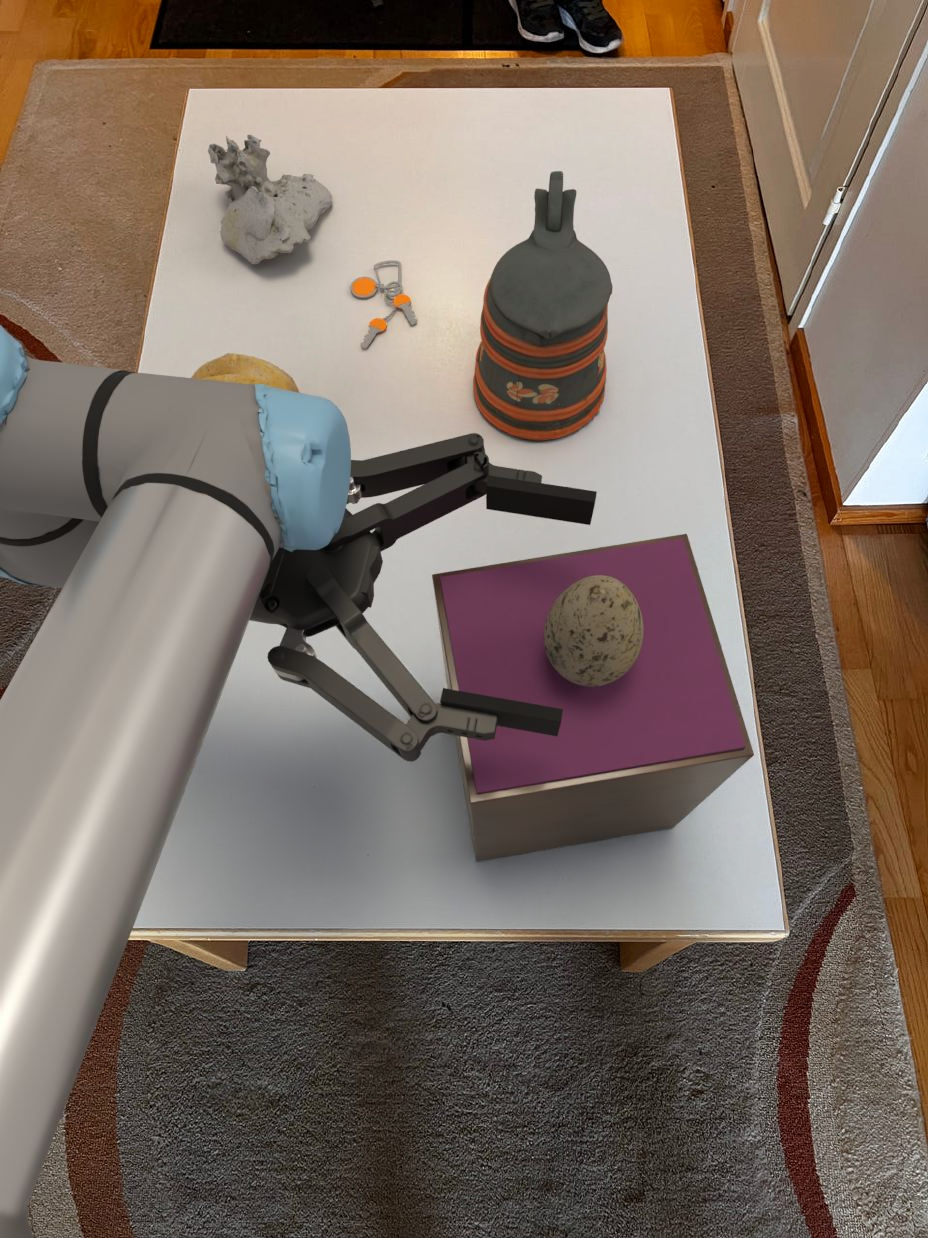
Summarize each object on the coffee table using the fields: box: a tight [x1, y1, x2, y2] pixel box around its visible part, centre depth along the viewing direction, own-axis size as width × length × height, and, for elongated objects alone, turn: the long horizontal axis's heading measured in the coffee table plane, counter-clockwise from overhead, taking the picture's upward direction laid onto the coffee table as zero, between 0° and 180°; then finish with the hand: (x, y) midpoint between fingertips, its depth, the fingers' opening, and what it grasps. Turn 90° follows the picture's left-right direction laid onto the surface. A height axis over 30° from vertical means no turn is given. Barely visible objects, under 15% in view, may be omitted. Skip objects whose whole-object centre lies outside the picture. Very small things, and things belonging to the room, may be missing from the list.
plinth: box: [431, 533, 755, 863], centre depth 69 cm, size 18×16×26 cm
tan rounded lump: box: [190, 352, 300, 393], centre depth 92 cm, size 13×10×10 cm
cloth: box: [440, 538, 746, 794], centre depth 57 cm, size 17×15×1 cm
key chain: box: [349, 260, 418, 349], centre depth 103 cm, size 13×7×1 cm, turn 8°
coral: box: [207, 134, 333, 265], centre depth 104 cm, size 17×14×10 cm
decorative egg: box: [544, 575, 643, 687], centre depth 52 cm, size 6×6×10 cm
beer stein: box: [472, 170, 613, 442], centre depth 89 cm, size 19×15×20 cm
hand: (578, 610), depth 50 cm, fingers open, 13 cm apart
